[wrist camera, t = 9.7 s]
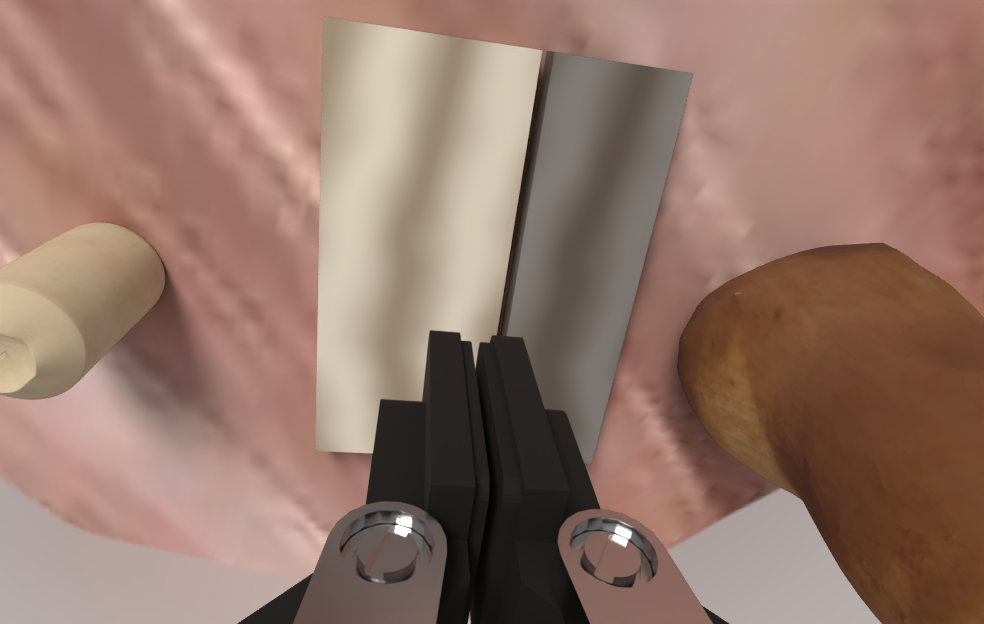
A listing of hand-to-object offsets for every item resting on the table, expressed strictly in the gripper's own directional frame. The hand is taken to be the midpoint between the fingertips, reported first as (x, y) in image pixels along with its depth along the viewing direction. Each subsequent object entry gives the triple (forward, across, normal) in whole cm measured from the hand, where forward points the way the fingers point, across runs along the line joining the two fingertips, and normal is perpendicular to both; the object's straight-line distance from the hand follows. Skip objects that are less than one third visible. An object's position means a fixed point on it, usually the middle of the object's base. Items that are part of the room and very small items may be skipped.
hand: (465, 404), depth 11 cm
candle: (+23, +17, +8) cm, 30 cm away
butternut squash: (+23, -21, +7) cm, 32 cm away
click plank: (+23, +1, +6) cm, 24 cm away
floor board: (+23, -8, +6) cm, 25 cm away
